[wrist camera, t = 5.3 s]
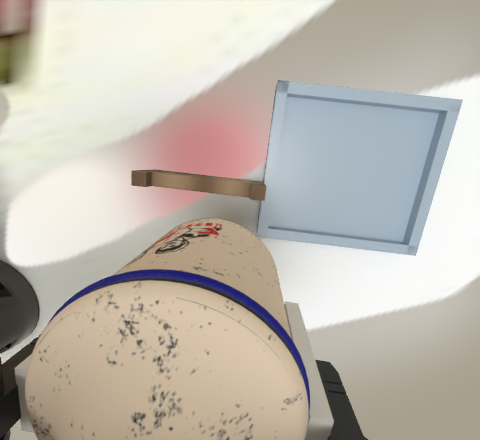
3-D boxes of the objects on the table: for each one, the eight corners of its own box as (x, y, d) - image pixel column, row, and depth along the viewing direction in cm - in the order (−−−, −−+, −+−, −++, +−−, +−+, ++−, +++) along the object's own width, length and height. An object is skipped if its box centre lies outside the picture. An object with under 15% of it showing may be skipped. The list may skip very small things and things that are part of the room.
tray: (256, 232, 32) (257, 236, 30) (276, 86, 28) (278, 80, 26) (405, 250, 31) (415, 255, 29) (447, 104, 27) (462, 100, 25)
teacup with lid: (217, 183, 14) (87, 245, 3) (308, 287, 16) (450, 603, 4) (94, 293, 17) (-240, 560, 5) (181, 377, 18) (58, 738, 7)
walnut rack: (152, 290, 34) (130, 318, 28) (156, 169, 30) (131, 170, 24) (247, 302, 34) (246, 333, 28) (263, 182, 30) (266, 186, 24)
